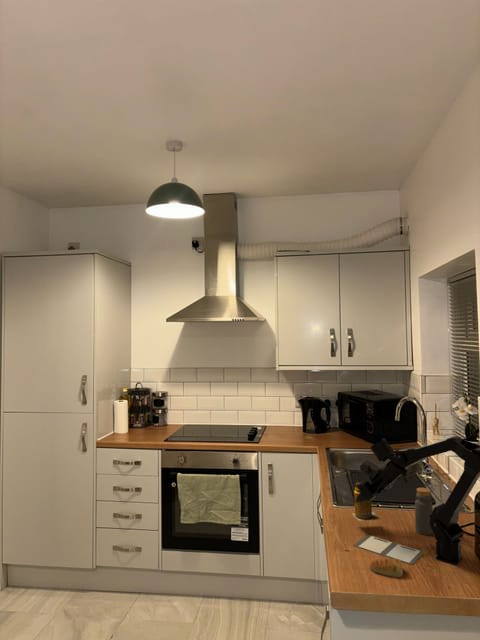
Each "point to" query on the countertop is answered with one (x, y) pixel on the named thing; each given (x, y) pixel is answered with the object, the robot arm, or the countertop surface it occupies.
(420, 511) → the bottle
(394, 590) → the countertop surface
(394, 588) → the countertop surface
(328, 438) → the countertop surface
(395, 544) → the mat
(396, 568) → the pastry
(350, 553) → the countertop surface
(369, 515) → the condiment
